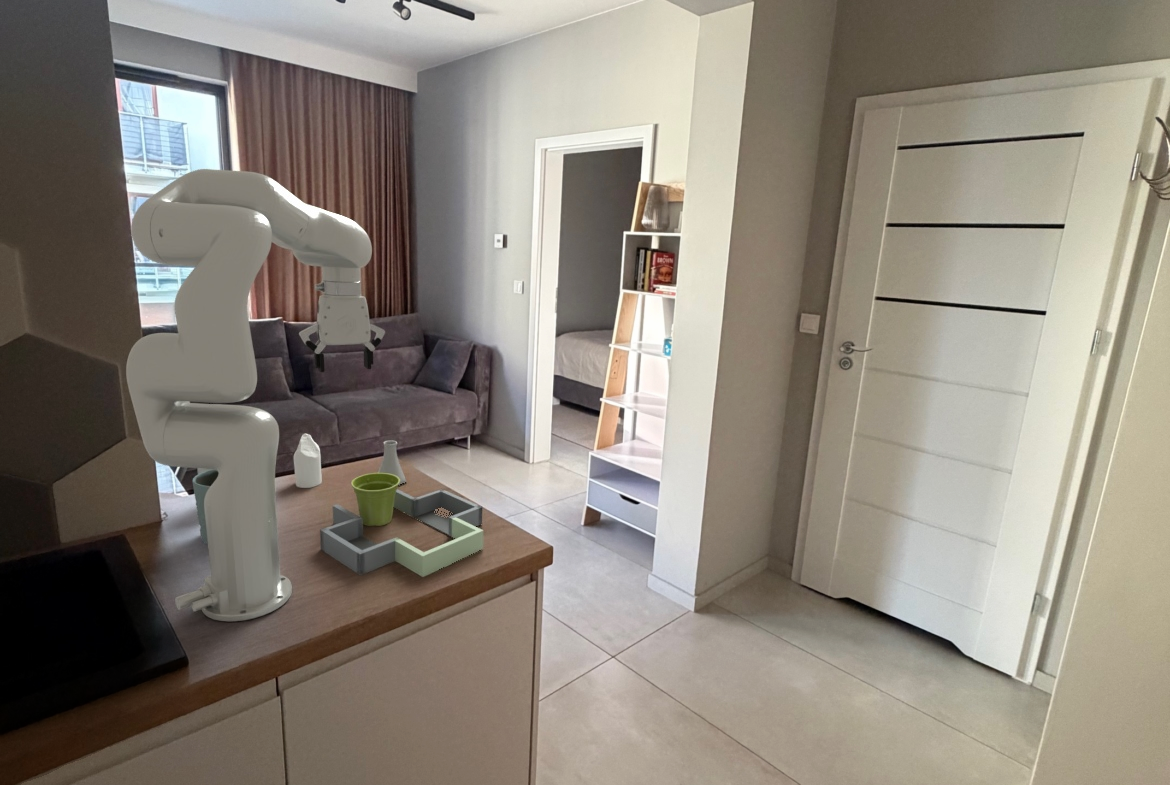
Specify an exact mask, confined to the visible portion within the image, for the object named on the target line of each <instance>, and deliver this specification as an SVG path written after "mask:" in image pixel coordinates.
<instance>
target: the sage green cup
mask: <svg viewBox="0 0 1170 785" xmlns="http://www.w3.org/2000/svg"><path fill="white" fill-rule="evenodd" d="M218 475H219V473H218V471H217V470H214V469H213V470H209V471H205V472H202V473H200V474H198V473H197V475H195V476H194V477H193V478H192V487H193V493H194V499H195V505H196V506H195V507H196V513H197V514H196V515H197V518H198V519H197V520H198V525H199V526H200V527H199V532H200V539H201V541H202V543H203V544H205V545H207V546H208V540H207V529H206V518H205V511H204V499H205V495H206V493H207V491H208V489H209V488H210V486H211V485H212V484H213V483H214V481H215V480H216V479H217V477H218Z"/></svg>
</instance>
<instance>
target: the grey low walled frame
mask: <svg viewBox="0 0 1170 785" xmlns="http://www.w3.org/2000/svg"><path fill="white" fill-rule="evenodd" d="M441 507H442V508H444V509H446V510H448V511H450V512H449V515H450V513H451V512H452V513H453V514H452V513H451V515H452V516H451V515H450V516H449V515H448V516H449V517H447V518H446V517H445V516H444V517H445V518H444V517H441V516H442V515H440V516H438V515H439V514H438V515H435V514H437V513H438V511H439V509H438V508H441ZM395 508H396V509H395ZM393 509H395V510H397V509H398V510H397V511H399V510H400V511H399V512H401V511H402V512H401V513H403V512H405V513H406V514H405V513H404V514H405V515H407V514H408V516H409V515H410V516H409V517H411V516H412V517H411V518H413V517H414V518H413V519H415V518H416V519H415V520H417V519H418V520H417V521H419V520H420V521H419V522H421V521H422V522H423V523H422V522H421V523H422V524H424V523H425V524H424V525H426V524H427V525H426V526H428V525H429V527H430V526H431V527H430V528H432V527H433V528H432V529H434V528H435V529H434V530H436V529H437V531H438V530H439V531H438V532H440V531H441V532H440V533H442V532H443V533H442V534H444V533H445V534H444V535H446V534H447V535H446V536H448V535H449V536H448V537H450V536H451V538H452V537H453V540H449V541H447V542H445V543H443V544H441V545H438V546H435V547H433V548H431V549H428V550H426V551H423V550H420V549H419V548H417V547H415V546H413V545H411V544H410V543H408V542H406V541H405V540H402V539H401V538H399V537H397V536H396V537H393V538H391V539H388V540H385V541H383V542H380V543H376V542H375V541H373V540H371V539H369V538H368V537H366V536H365V535H364V534H363V533H364V530H363V528H364V524H363V521H362V518H361V517H360V515H357V514H356V513H355V512H354V513H353V512H352V511H350V510H348V509H347V508H345V507H343V506H341V505H340V504H337V503H336V504H333V505H332V525H331V526H330V525H329V526H327V527H325V528H321V529H320V530H319V534H320V536H319V537H320V550H321V551H322V552H324V553H326V554H327V555H329V556H330V557H331V558H333V559H335V560H336V561H338V562H340V563H341V564H342V565H344V566H346V567H347V568H348V569H350V570H352V571H353V572H355V573H356V574H358V575H359V576H363V575H365V574H367V573H369V572H372V571H375V570H377V569H379V568H382V567H383V566H386V565H388V564H391V563H394V562H396V563H398V564H400V565H402V566H403V567H405V568H407V569H408V570H410V571H412V572H413V573H415V574H417V575H419V576H420V577H422V578H425V577H427V576H428V575H431V574H433V573H435V572H437V571H439V569H440V570H441V568H442V569H444V568H446V567H448V566H450V565H452V563H453V564H454V562H455V563H457V562H459V561H461V560H463V559H462V558H464V557H466V556H468V555H470V556H472V555H474V554H476V553H475V552H477V551H479V550H481V549H483V550H484V529H481V528H480V527H479V526H478V525H480V526H482V525H483V506H481V505H479V504H478V503H474V502H473V501H470V500H468V499H466V498H463V497H461V496H459V495H456V494H455V493H452V492H450V491H447V490H445V489H442V488H441V489H438V490H435V491H433V492H428V493H426V494H423V495H420V496H418V497H414V496H412V495H410V494H408V493H406V492H404V491H402V490H400V489H398V488H397V490H396V493H395V500H394V508H393ZM435 509H438V511H437V513H436V511H435ZM434 511H435V513H434ZM441 512H442V511H441ZM444 513H445V512H444ZM440 514H441V513H440ZM446 514H447V513H446ZM443 515H444V514H443ZM446 516H447V515H446ZM481 524H482V525H481ZM476 526H478V527H476ZM454 538H455V539H454ZM481 551H482V550H481ZM479 552H480V551H479ZM473 553H474V554H473ZM477 553H478V552H477ZM471 554H472V555H471ZM468 557H469V556H468ZM466 558H467V557H466ZM460 559H461V560H460ZM464 559H465V558H464ZM458 560H459V561H458ZM456 561H457V562H456ZM443 567H444V568H443Z"/></svg>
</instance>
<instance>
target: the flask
mask: <svg viewBox="0 0 1170 785" xmlns="http://www.w3.org/2000/svg"><path fill="white" fill-rule="evenodd" d="M382 444H383V446H384V451H383V457H382V459H381V460H382V461H381V463H380V466H379V469H378V471H377V473H388V474H393V475H396V476H397V477H399V479H400V483H399V486H401V485H400V484H402V483H404V484H406V483H407V480H406V477H405V474H404V472H403V469H402V466H401V462H400V461H399V457H398V452H397V446H398V442H397V441H396V440H385V441H383V442H382ZM405 482H406V483H405ZM402 485H403V484H402Z"/></svg>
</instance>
